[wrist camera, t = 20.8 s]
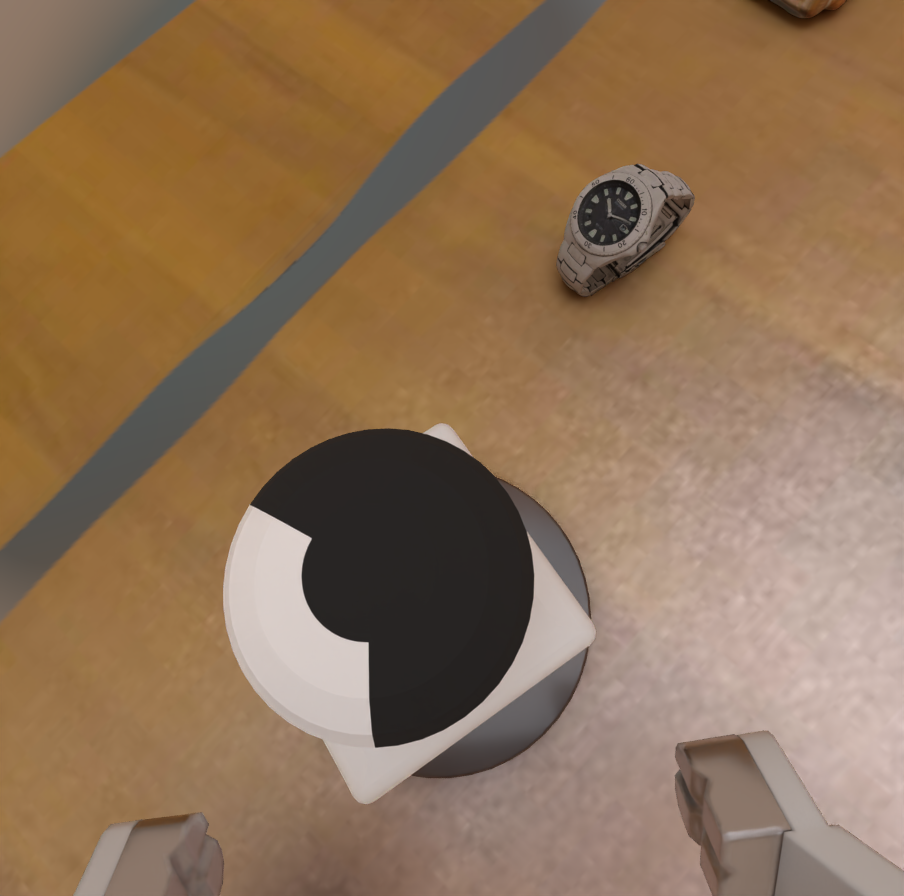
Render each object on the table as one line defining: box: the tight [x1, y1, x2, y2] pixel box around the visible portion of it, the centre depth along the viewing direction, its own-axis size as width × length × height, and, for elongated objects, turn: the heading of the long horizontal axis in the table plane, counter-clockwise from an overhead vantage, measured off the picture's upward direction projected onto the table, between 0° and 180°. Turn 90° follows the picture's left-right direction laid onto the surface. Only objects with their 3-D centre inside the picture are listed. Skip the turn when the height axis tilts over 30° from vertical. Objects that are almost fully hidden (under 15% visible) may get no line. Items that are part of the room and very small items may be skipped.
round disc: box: [412, 477, 591, 778], centre depth 23 cm, size 11×11×1 cm
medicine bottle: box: [223, 423, 596, 804], centre depth 17 cm, size 7×7×12 cm
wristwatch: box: [556, 164, 695, 297], centre depth 25 cm, size 4×6×5 cm, turn 125°
